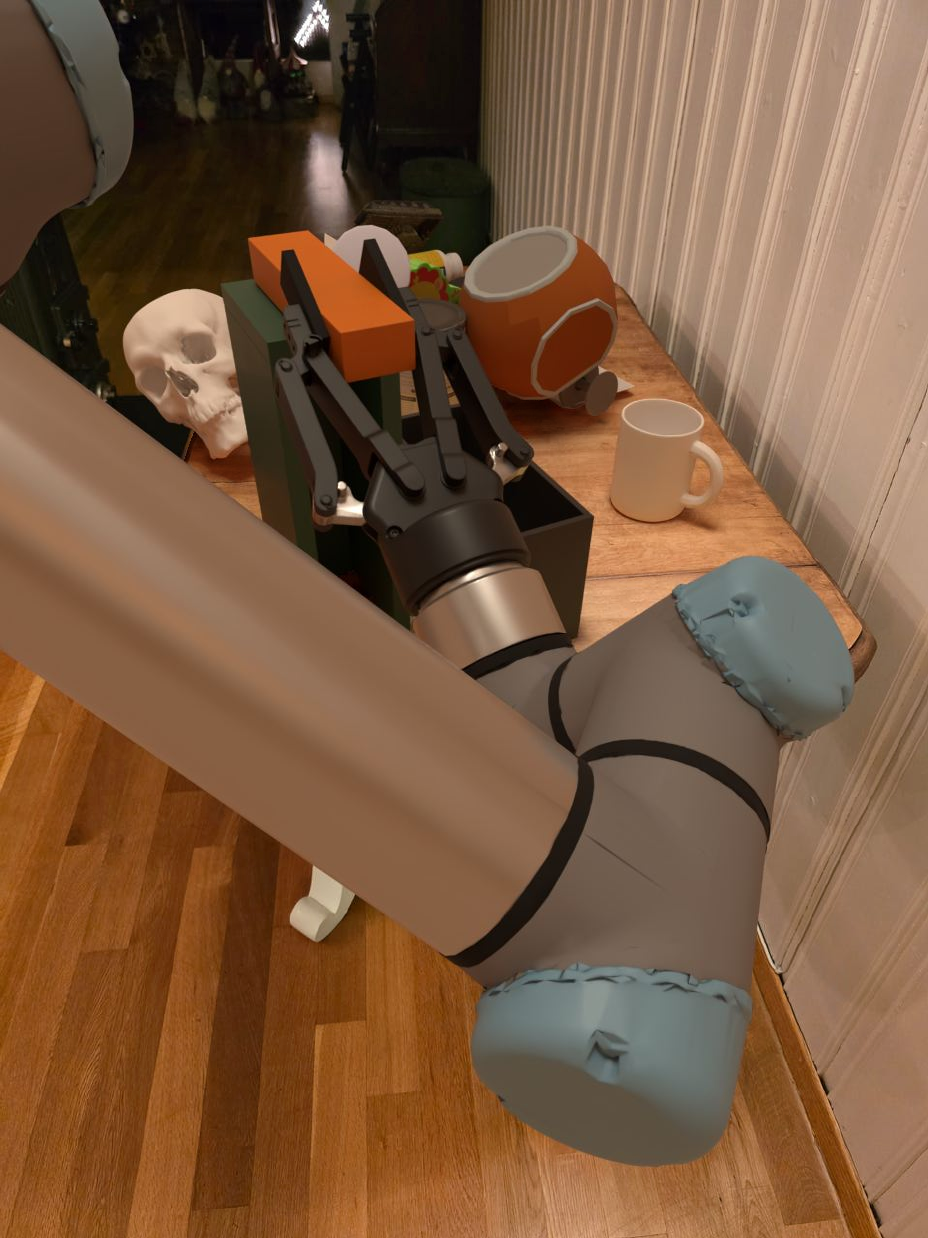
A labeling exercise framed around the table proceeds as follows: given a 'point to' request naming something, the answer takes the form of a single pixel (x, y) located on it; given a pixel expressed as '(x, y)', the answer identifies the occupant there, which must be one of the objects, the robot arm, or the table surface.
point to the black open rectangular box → (538, 523)
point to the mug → (661, 461)
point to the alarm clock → (539, 311)
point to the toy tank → (402, 220)
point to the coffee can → (441, 319)
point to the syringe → (591, 392)
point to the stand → (275, 455)
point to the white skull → (188, 366)
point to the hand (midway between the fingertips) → (327, 261)
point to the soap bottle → (389, 245)
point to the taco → (431, 282)
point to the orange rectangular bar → (341, 306)
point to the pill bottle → (442, 262)
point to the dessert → (621, 383)
